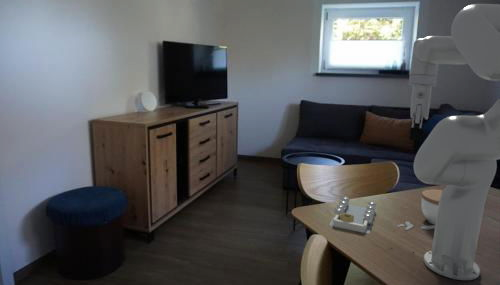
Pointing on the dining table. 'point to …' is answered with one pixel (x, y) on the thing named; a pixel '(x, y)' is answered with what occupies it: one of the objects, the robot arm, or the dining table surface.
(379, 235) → the dining table surface
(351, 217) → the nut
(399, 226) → the pliers
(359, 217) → the board
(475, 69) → the robot arm
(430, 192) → the lidded bowl
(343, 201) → the spacers
